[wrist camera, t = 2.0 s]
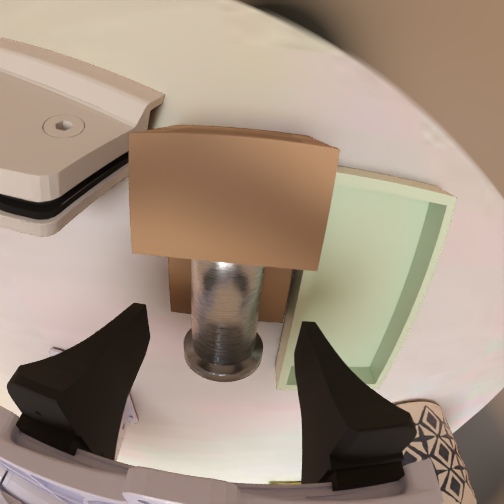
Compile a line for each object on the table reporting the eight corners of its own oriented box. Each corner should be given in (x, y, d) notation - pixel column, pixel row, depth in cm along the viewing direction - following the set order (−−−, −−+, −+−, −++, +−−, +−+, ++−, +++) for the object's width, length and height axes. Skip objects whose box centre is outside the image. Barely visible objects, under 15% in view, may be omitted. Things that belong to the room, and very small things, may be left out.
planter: (435, 376, 24) (485, 495, 11) (443, 429, 29) (472, 510, 16) (295, 436, 28) (302, 556, 15) (341, 472, 33) (352, 554, 20)
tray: (371, 366, 22) (379, 388, 20) (275, 365, 22) (276, 389, 20) (435, 185, 16) (457, 197, 14) (312, 161, 16) (321, 169, 13)
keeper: (281, 307, 20) (288, 384, 14) (176, 297, 20) (148, 369, 14) (308, 135, 15) (340, 149, 9) (178, 124, 15) (128, 133, 9)
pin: (261, 331, 19) (261, 384, 15) (191, 324, 19) (177, 376, 15) (284, 162, 15) (295, 182, 11) (193, 155, 15) (168, 171, 10)
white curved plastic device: (171, 97, 14) (38, 196, 7) (146, 163, 17) (46, 279, 10) (-1, 37, 11) (-107, 90, 4) (-7, 88, 14) (-100, 151, 7)
